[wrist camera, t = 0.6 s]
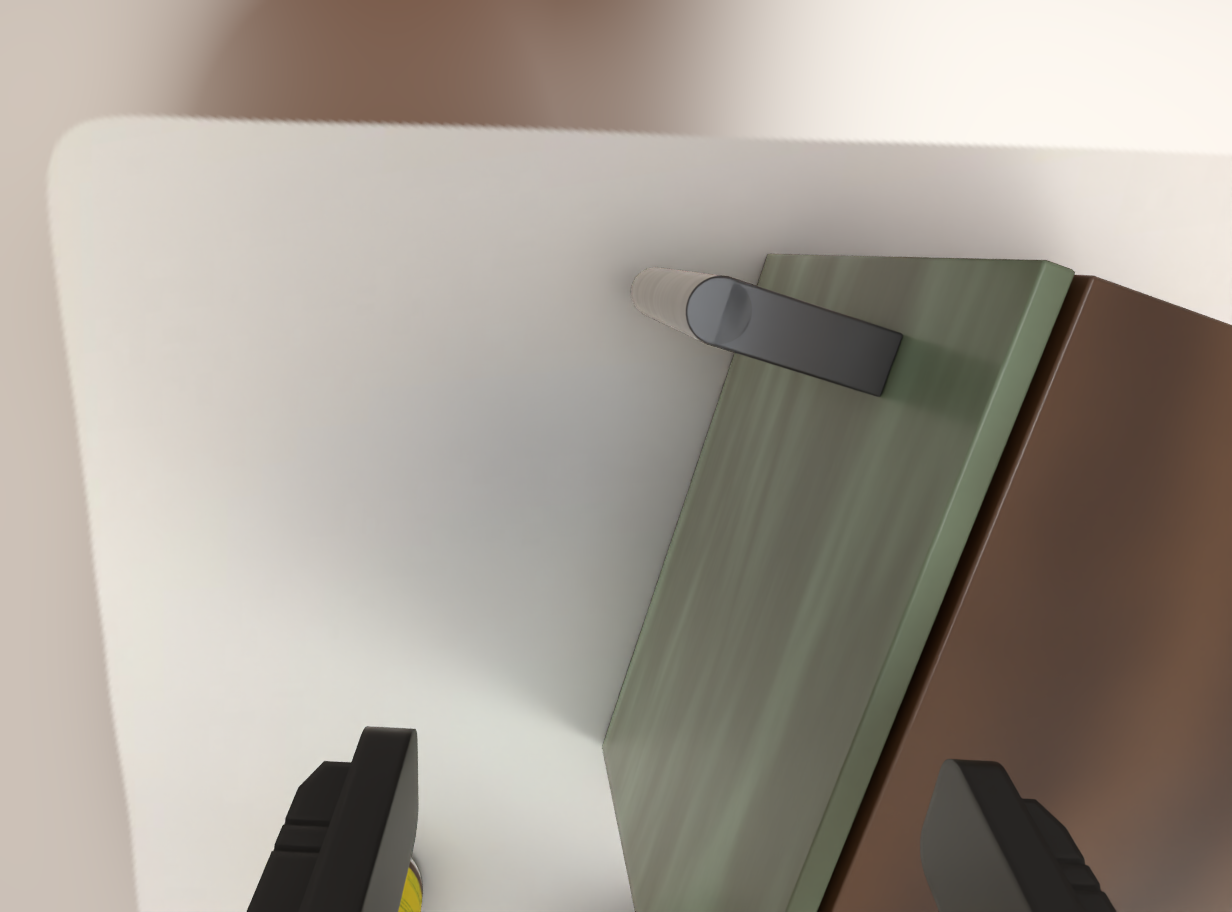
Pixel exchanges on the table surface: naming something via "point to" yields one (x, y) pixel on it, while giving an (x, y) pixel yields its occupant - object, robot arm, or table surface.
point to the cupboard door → (809, 555)
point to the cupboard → (1086, 622)
